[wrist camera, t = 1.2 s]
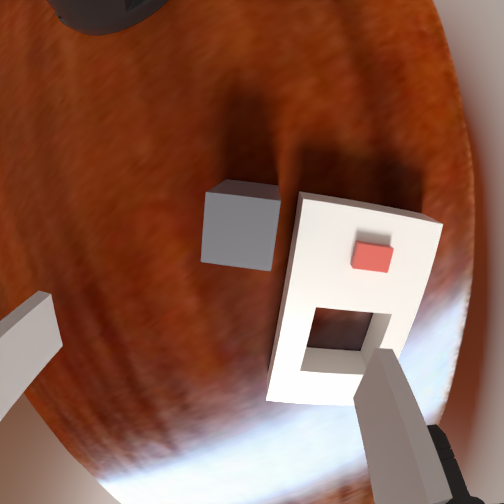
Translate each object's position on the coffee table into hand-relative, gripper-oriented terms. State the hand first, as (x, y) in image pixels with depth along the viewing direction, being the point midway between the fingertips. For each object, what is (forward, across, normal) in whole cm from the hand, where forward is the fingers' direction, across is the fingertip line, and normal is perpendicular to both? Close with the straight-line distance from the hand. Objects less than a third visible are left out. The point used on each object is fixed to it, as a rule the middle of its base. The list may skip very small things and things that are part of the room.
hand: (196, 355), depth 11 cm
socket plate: (+17, +10, -6) cm, 21 cm away
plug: (+17, 0, +2) cm, 17 cm away
